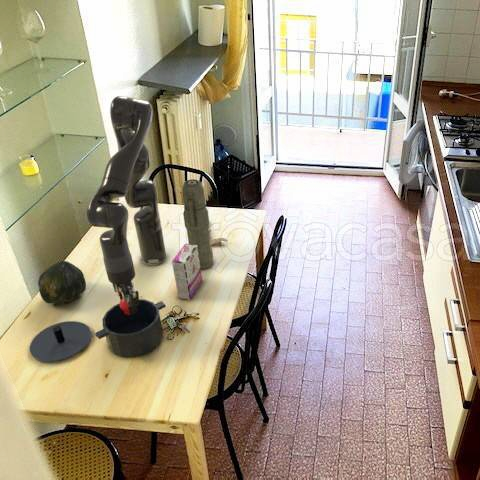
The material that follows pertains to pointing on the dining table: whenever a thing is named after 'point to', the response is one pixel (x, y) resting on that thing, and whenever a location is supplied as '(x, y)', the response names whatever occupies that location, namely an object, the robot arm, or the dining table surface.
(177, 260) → the candy bar box
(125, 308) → the strawberry
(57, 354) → the lid
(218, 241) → the jawbone
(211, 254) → the thermos
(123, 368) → the dining table surface
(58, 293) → the squash
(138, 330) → the pot
